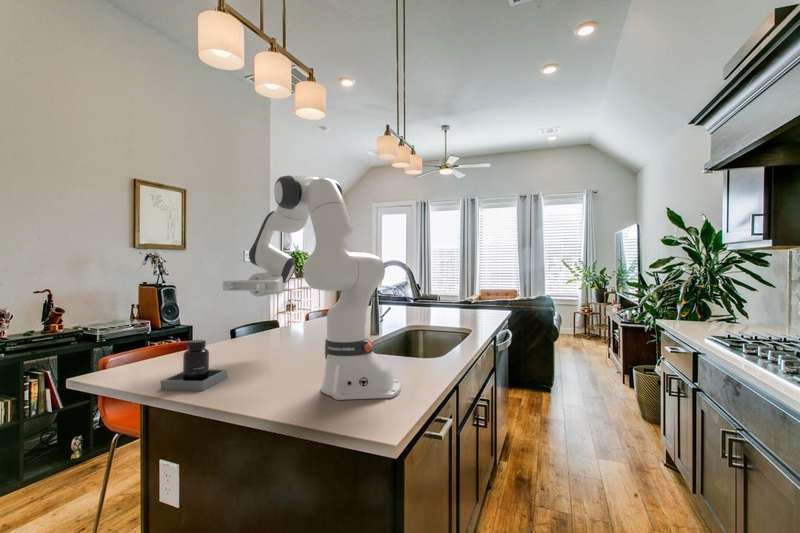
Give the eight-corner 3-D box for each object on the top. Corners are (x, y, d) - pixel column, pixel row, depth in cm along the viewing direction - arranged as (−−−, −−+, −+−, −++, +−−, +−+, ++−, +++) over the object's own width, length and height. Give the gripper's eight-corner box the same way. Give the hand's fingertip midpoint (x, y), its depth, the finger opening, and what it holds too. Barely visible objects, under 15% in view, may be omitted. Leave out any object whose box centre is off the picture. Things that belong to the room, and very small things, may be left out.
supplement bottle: (197, 385, 109) (197, 343, 109) (177, 383, 111) (177, 342, 111) (214, 378, 116) (214, 339, 116) (194, 377, 117) (194, 338, 117)
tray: (227, 377, 119) (227, 369, 119) (202, 390, 106) (202, 381, 106) (189, 376, 120) (189, 368, 120) (160, 389, 107) (160, 380, 107)
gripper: (234, 276, 143) (212, 277, 130) (286, 276, 141) (270, 277, 128) (234, 292, 143) (212, 295, 130) (286, 293, 141) (270, 296, 128)
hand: (242, 286), depth 129 cm, fingers open, 8 cm apart
